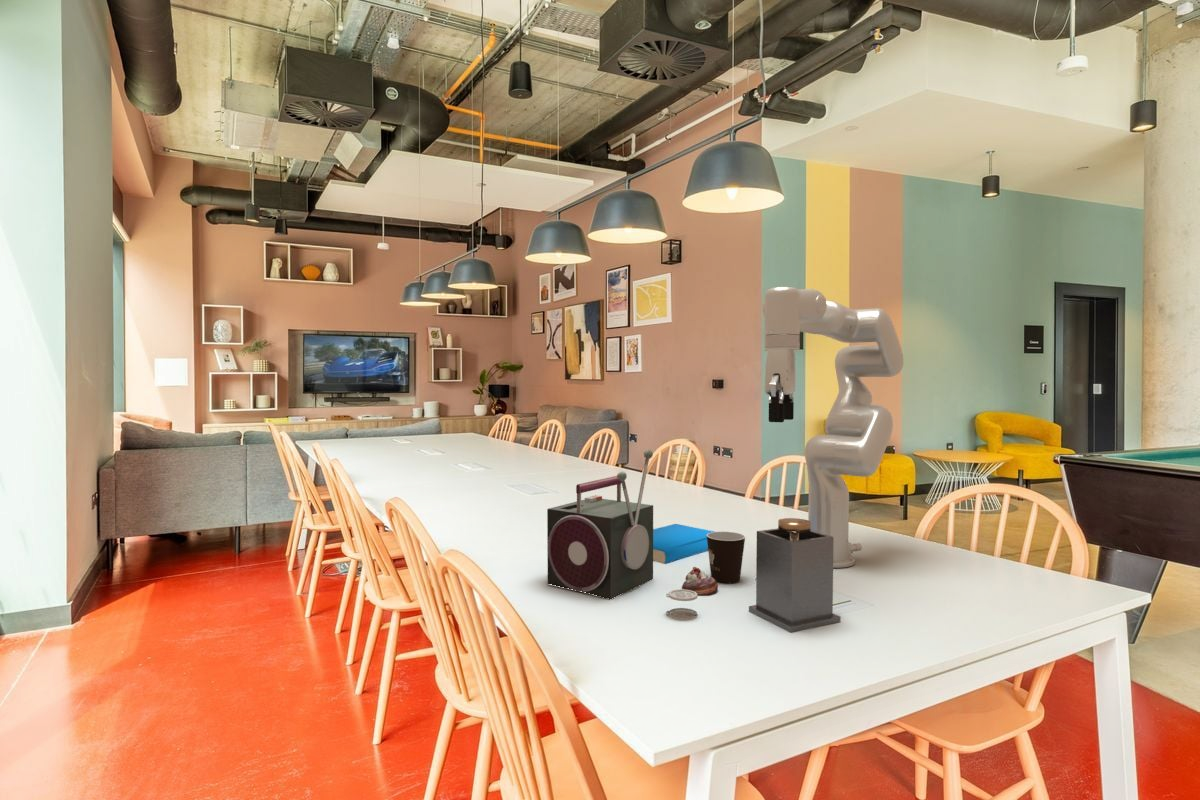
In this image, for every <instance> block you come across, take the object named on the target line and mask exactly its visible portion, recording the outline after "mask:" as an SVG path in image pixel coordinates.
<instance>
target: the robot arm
mask: <svg viewBox="0 0 1200 800" xmlns="http://www.w3.org/2000/svg"><path fill="white" fill-rule="evenodd" d="M762 314H763V316H764V351H766V357H765V358H766V359H765V373H764V375H765V376H764V393H765V394H766V395H769V397H768V422H769V423H784V422H785V421H789V420H791V421H792V420H793V419H794V411H795V409H794V407H795V405H794V404H795V403H794V393H795V391H796V351H800V349H801V348H800V347H801V344H800V342H801V340H800V337H801V335H800V334H801V333H806V334H812V335H818V336H819V335H820V336H825V337H826V338H831V339H833V340H836V341H838V342H841V343H845V344H852V343H853V344H856V343H876V344H862V345H861V344H859V345H858V344H856V345H849V346H845V347H842V348H840V349H839V350H838V351H837V352H836V355H835V357H834V358H835V359H834V367H835V368H834V369H835V373H836V375H835V376H836V379H837V385H838V393H837V396H836V398H835V400H834V402H833V404H832V406H831V409H830V411H829V412H828V415H827V417H826V420H825V422H824V429H825V430H824V431H825V433H826V434H819V435H818V434H817V435H814V436H812V437H811V438H809V440H808V441H807V442H806V444H805V448H804V460H805V465H806V468H807V469H806V470H807V479H808V521H810V522H811V530H812V531H815V532H818V533H822V534H825V535H829V536H832V537H833V569H835V568H836V569H838V568H839V569H840V568H848V567H852V566H854V565H855V563H856V558H855V557H854V556H853V555H852V553H854V552H861V551H862V550H863V546H862V544H861V543H860V542H858V543H853V544H852V543H851V542H849V527H850V526H849V522H850V521H849V519H850V517H849V514H850V512H849V511H850V508H849V507H850V491H849V488H848V486H847V484H846V481H845V480H844V479H843V477H842V476H850V477H852V476H853V477H862V478H866V477H870V476H872V475H874V474H875V473H876V472H877V470H878V468H879V466H880V464H881V461H882V459H883V456H884V454H885V452H886V450H887V447H888V444H889V442H890V440H891V438H892V437H891V436H892V433H893V427H894V425H893V424H894V423H893V422H894V421H893V416H892V414H891V411H889V409H888V408H886V407H884V406H882V405H877V404H872V402H873V396H872V392H871V391H870V389H869V388H868V387H867V385H866V384H865V383H864V382H863V381H862V380H861V378H892V377H895V376H897V375H899V374H900V373H901V372H902V369H903V367H904V355H903V354H904V353H903V350H902V346H901V344H900V340H899V338H898V334H897V331H896V328H895V325H894V323H893V321H892V318H891V316H890V315H889V314H888V313H887V310H885V309H883V308H880V307H879V308H878V307H876V308H874V307H873V308H861V309H852V308H849V307H847V306H845V305H844V304H841V303H839V302H838V301H833V300H827V299H826V297H825V295H824V294H823V293H822V292H821V291H820V290H818V289H814V288H813V289H812V288H806V289H801V288H800V289H798V288H796V287H793V286H776V287H770V288H769V289H767V290H766V292H765V295H764V300H763V304H762Z"/></svg>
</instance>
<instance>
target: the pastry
mask: <svg viewBox="0 0 1200 800" xmlns="http://www.w3.org/2000/svg"><path fill="white" fill-rule="evenodd" d="M718 588H719V583H717V582H716V580H715V579H714V578H712V577H711V575H707V573H706V572H705V571H704V570H701V569H700V568H698V567H696V566H692V570H691V571H690V572H688V574H687V575H686V576H685V581H683V584H682V585H681V589H685V590H691V591H694V592H696V593H697V596H701V597H703V596H704V597H705V596H712V595H713V594H715V593H716V591H718Z"/></svg>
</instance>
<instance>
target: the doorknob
mask: <svg viewBox="0 0 1200 800" xmlns="http://www.w3.org/2000/svg"><path fill="white" fill-rule="evenodd" d="M777 523H778V524H777V526H778V529H779V530H781V531H785V532H790V541H797V540H799V533H806V532H810V531H811V522H810V521H808V520H807V519H803V518H797V517H795V518H794V517H787V518H786V517H785V518H779V519H778V522H777Z"/></svg>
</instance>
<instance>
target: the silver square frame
mask: <svg viewBox="0 0 1200 800" xmlns="http://www.w3.org/2000/svg"><path fill="white" fill-rule="evenodd" d="M755 567H756V571H755V572H756V573H755V574H756V575H755V577H756V578H755V580H756V581H755V582H756V583H755V584H756V585H755V586H756V587H755V588H756V591H755V592H756V593H755V602H756V603H755V604H754V605H749V606H748V612H750V613H752V614H754V615H755V616H757V617H760V618H762V619H763V620H766V621H767V622H769V623H771V624H774V625H775V626H777V627H779V628H780V629H783V630H785V631H787V632H789V633H794V632H799V631H803V630H804V631H805V630H808V629H813V628H819V627H823V626H828V625H833V624H837V622H838V623H840V622H841V621H842V620H841V619H842V618H841V616H840V615H837V614H836V613H833V611H834V610H833V609H834V607H833V606H834V605H833V604H834V603H833V602H834V598H833V597H834V568H833V537H832V536H829V535H825V534H822V533H818V532H815V531H812V530H811V531H810V532H806V533H799V540H797V541H790V532H785V531H781V530H779V529H778V528H770V529H762V530H756V566H755Z"/></svg>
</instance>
